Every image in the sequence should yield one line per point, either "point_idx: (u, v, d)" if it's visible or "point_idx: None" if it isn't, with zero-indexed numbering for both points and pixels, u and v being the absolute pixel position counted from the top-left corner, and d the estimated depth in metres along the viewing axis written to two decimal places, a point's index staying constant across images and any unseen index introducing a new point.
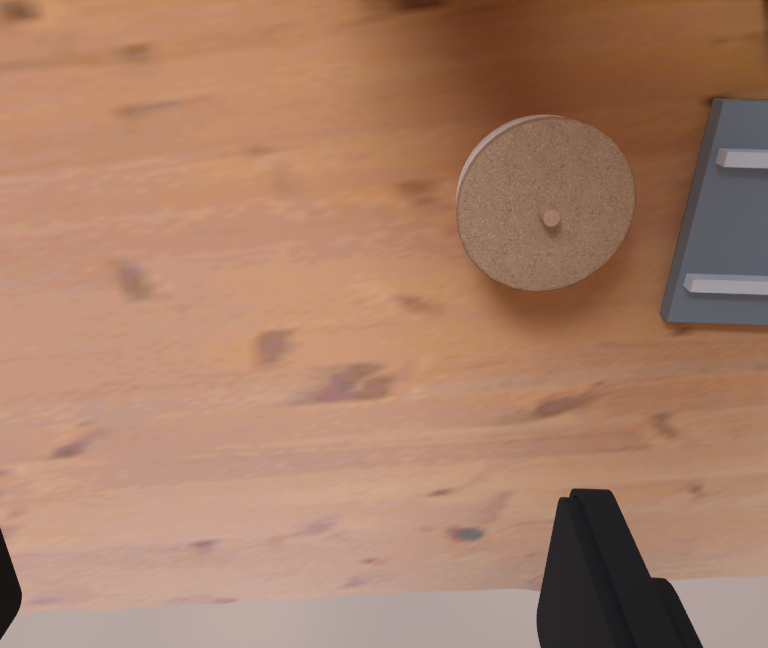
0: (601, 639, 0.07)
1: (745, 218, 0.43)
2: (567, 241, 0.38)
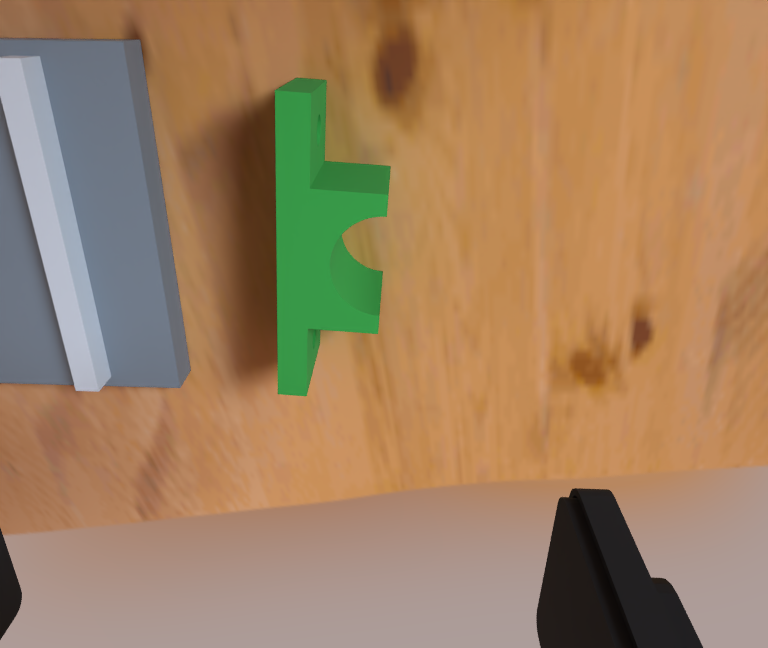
0: (601, 639, 0.07)
1: None
2: None
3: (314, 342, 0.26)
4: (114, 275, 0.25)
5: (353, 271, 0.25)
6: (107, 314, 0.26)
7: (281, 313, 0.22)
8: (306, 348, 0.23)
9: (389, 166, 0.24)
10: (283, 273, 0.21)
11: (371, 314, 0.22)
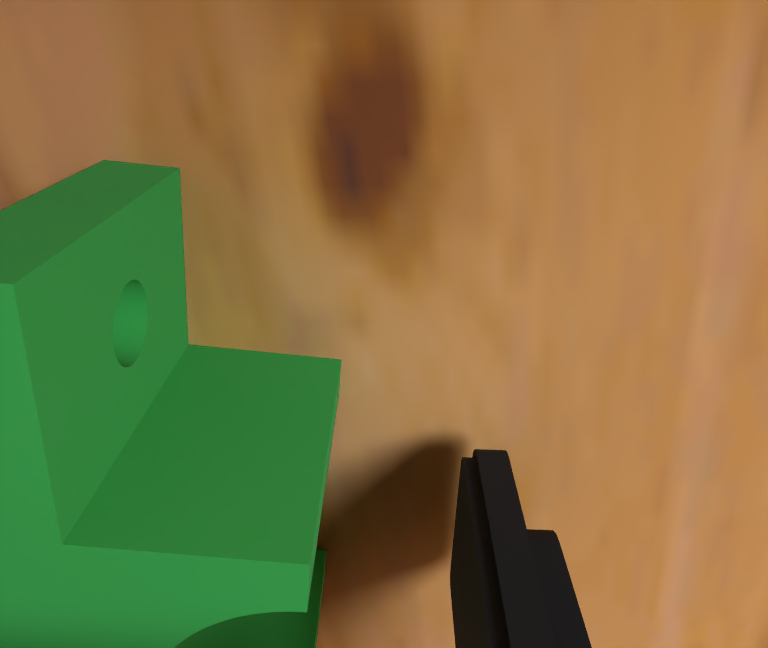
0: (475, 576, 0.08)
1: None
2: None
3: None
4: None
5: None
6: None
7: None
8: None
9: (338, 363, 0.10)
10: None
11: None
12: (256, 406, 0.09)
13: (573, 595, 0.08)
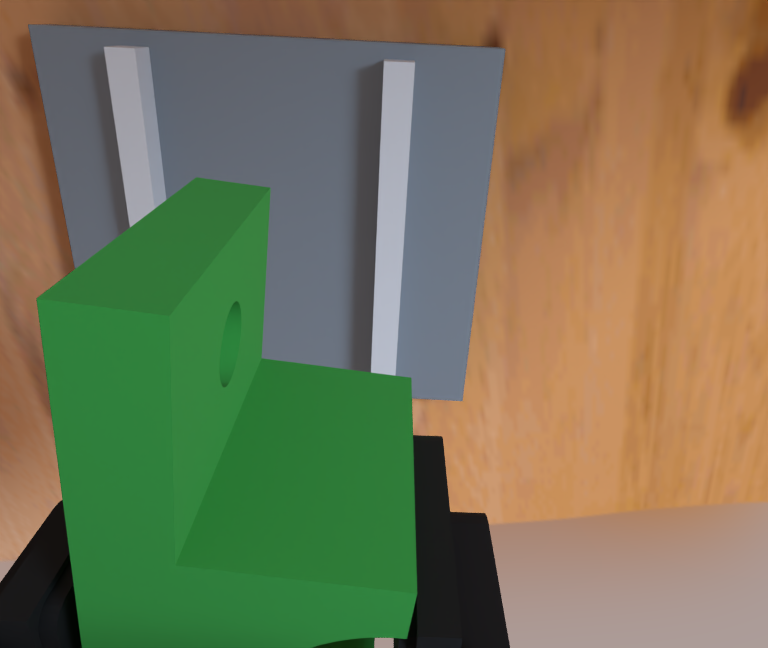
0: None
1: (276, 147, 0.22)
2: None
3: None
4: (427, 285, 0.24)
5: None
6: (408, 324, 0.25)
7: None
8: None
9: (409, 384, 0.10)
10: None
11: None
12: (337, 427, 0.09)
13: (494, 573, 0.09)
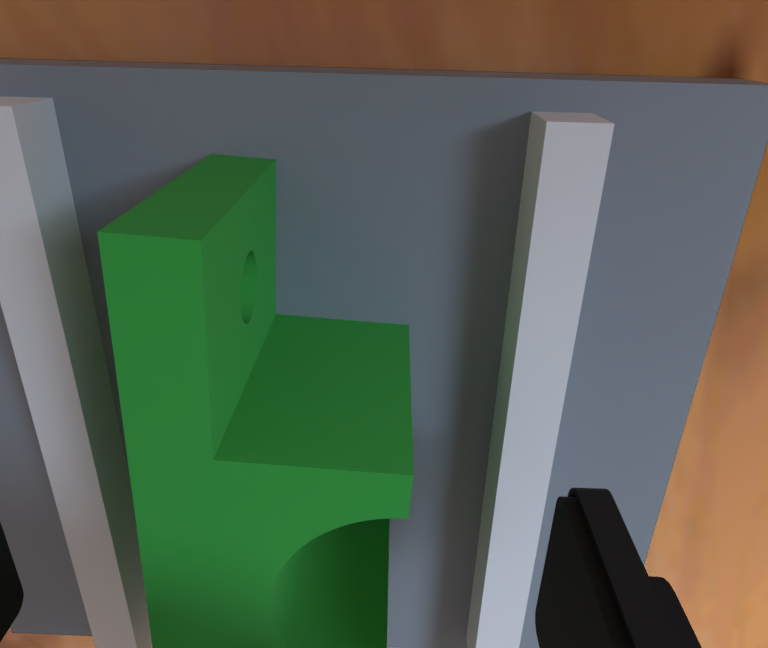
0: (599, 638, 0.07)
1: (310, 277, 0.12)
2: None
3: None
4: None
5: (332, 529, 0.12)
6: (537, 553, 0.14)
7: None
8: None
9: (406, 329, 0.12)
10: (164, 617, 0.09)
11: None
12: (344, 362, 0.10)
13: None
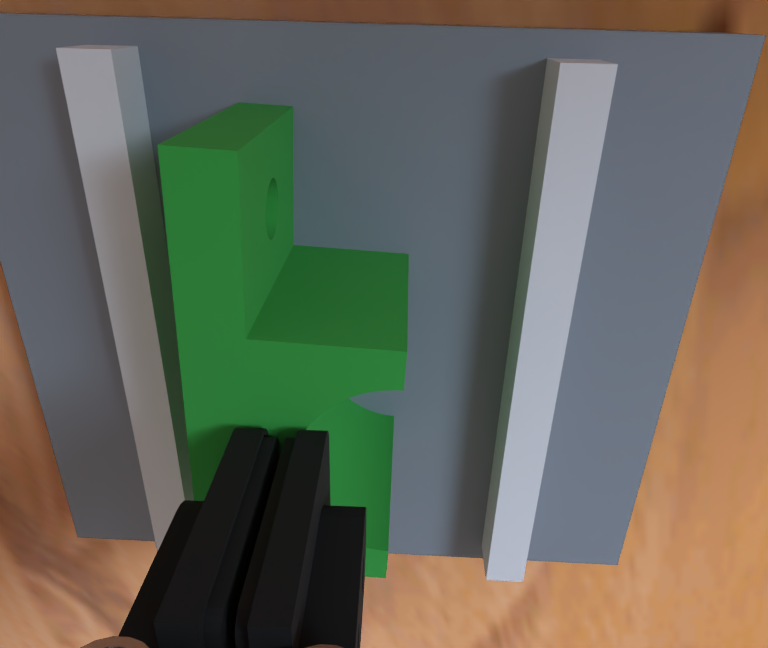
0: None
1: (352, 207, 0.13)
2: None
3: None
4: (582, 411, 0.15)
5: (343, 433, 0.14)
6: (546, 465, 0.16)
7: None
8: None
9: (406, 257, 0.14)
10: (204, 482, 0.11)
11: (373, 548, 0.12)
12: (352, 278, 0.12)
13: (358, 565, 0.09)
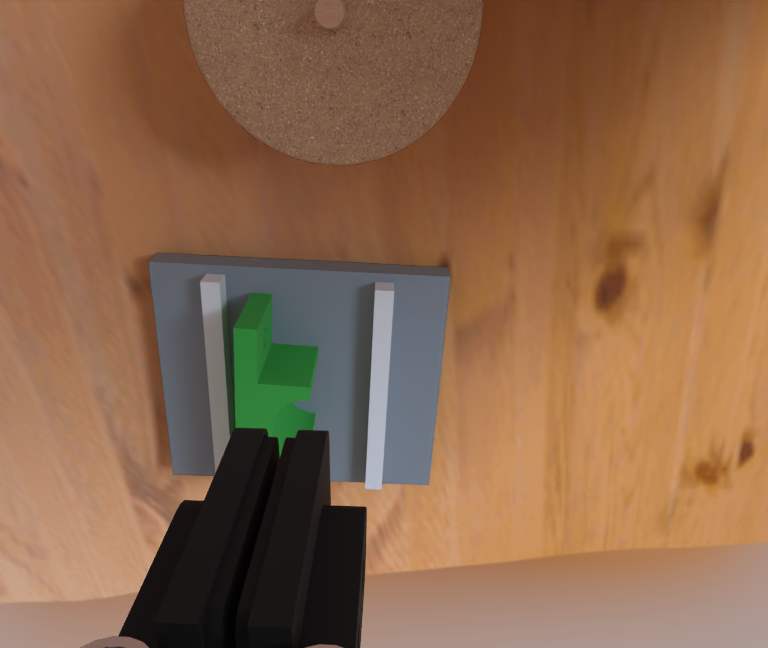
0: None
1: (305, 330, 0.34)
2: (281, 57, 0.22)
3: None
4: (403, 412, 0.36)
5: (292, 419, 0.35)
6: (391, 436, 0.37)
7: None
8: None
9: (317, 348, 0.34)
10: None
11: None
12: (294, 359, 0.33)
13: (358, 565, 0.09)
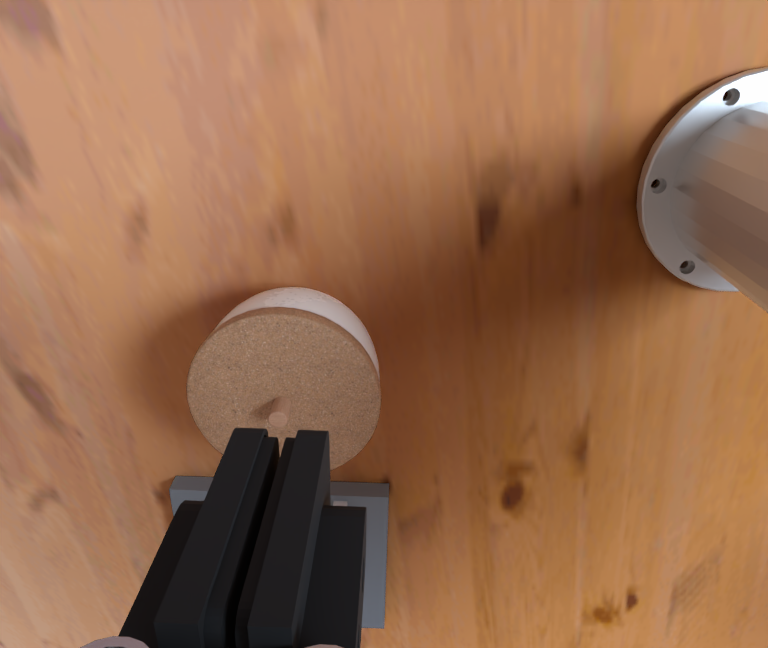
0: None
1: None
2: (251, 426, 0.34)
3: None
4: None
5: None
6: None
7: None
8: None
9: None
10: None
11: None
12: None
13: (358, 565, 0.09)
